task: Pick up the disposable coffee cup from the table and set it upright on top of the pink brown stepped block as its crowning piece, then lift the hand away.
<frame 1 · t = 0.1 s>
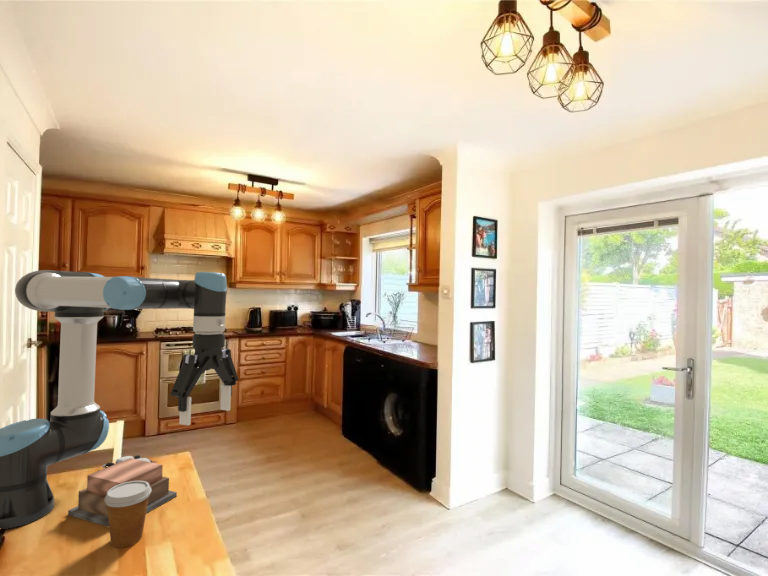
hand: (206, 416, 102), 28 cm above the table, tool pointing down, fingers open, 13 cm apart
disposable coffee cup: (126, 540, 96), on the table
robot toy: (128, 474, 131), on the table
pink brown stepped block: (124, 505, 111), on the table
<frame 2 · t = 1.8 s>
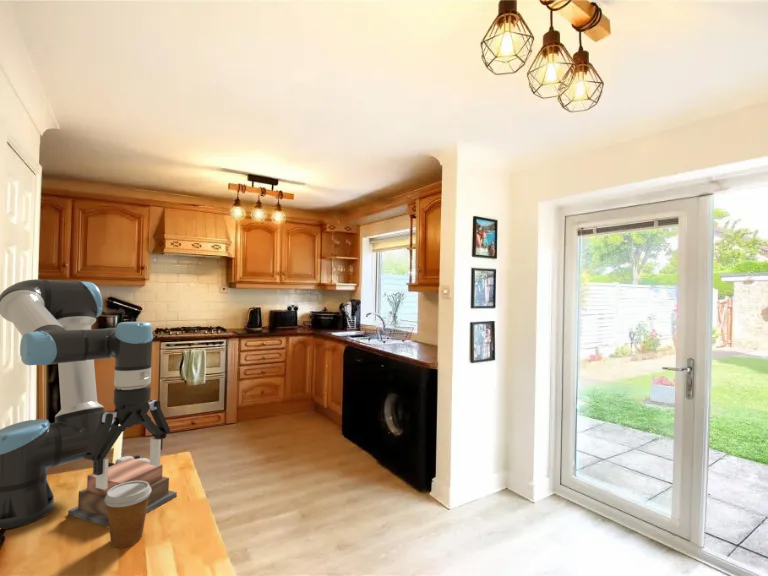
hand: (129, 475, 96), 15 cm above the table, tool pointing down, fingers open, 13 cm apart
nothing on the table moved.
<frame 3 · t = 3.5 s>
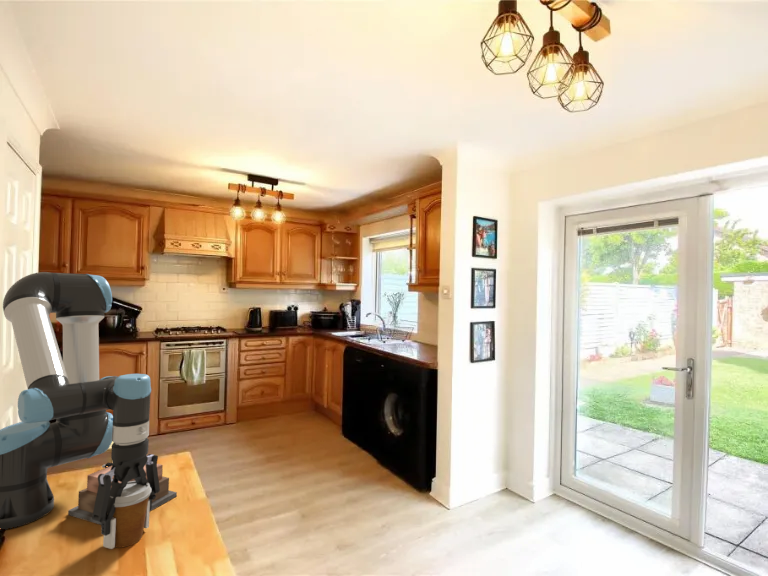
hand: (127, 536, 96), 1 cm above the table, tool pointing down, fingers closed on disposable coffee cup, 8 cm apart
disposable coffee cup: (126, 540, 96), on the table, touching gripper
everything else where it was.
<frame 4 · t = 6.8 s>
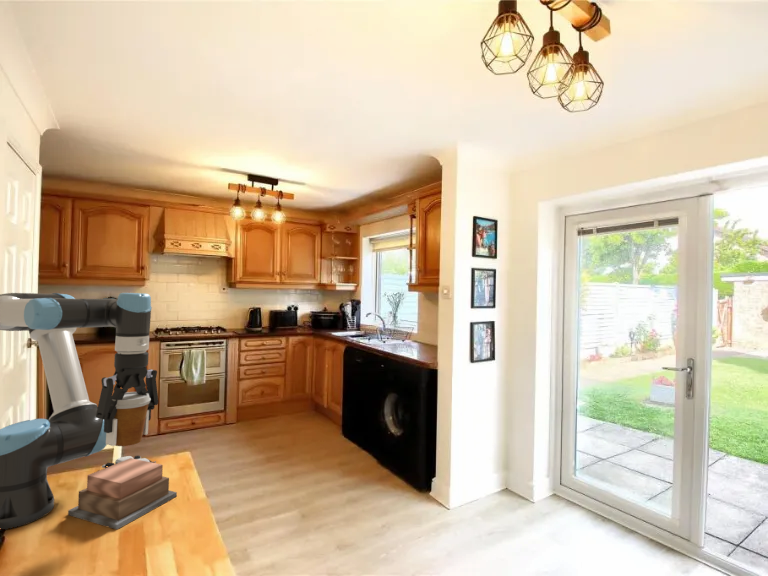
hand: (127, 438, 105), 21 cm above the table, tool pointing down, fingers closed on disposable coffee cup, 8 cm apart
disposable coffee cup: (127, 442, 105), point 20 cm above the table, touching gripper
everything else where it was.
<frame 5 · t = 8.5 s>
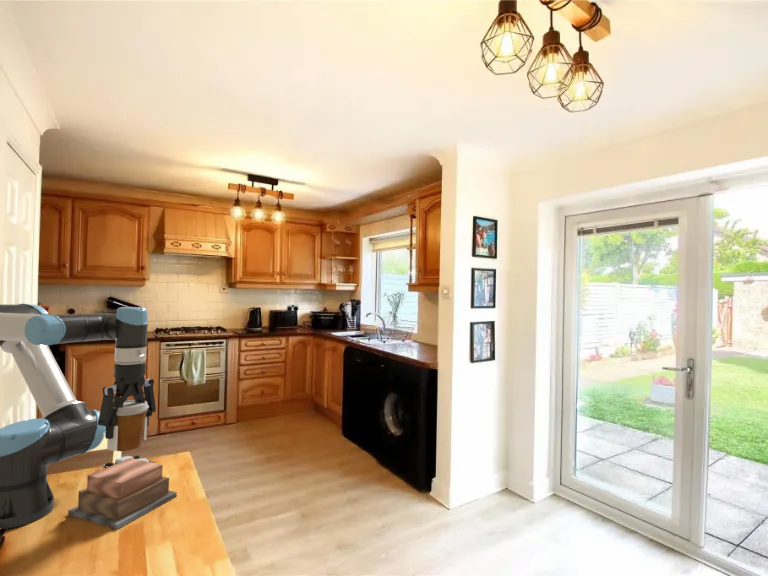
hand: (127, 444, 111), 17 cm above the table, tool pointing down, fingers closed on disposable coffee cup, 8 cm apart
disposable coffee cup: (127, 447, 111), point 16 cm above the table, touching gripper
everything else where it was.
when the fingers open (12 cm above the table, at t = 10.0 s): disposable coffee cup drops 1 cm, resting on pink brown stepped block.
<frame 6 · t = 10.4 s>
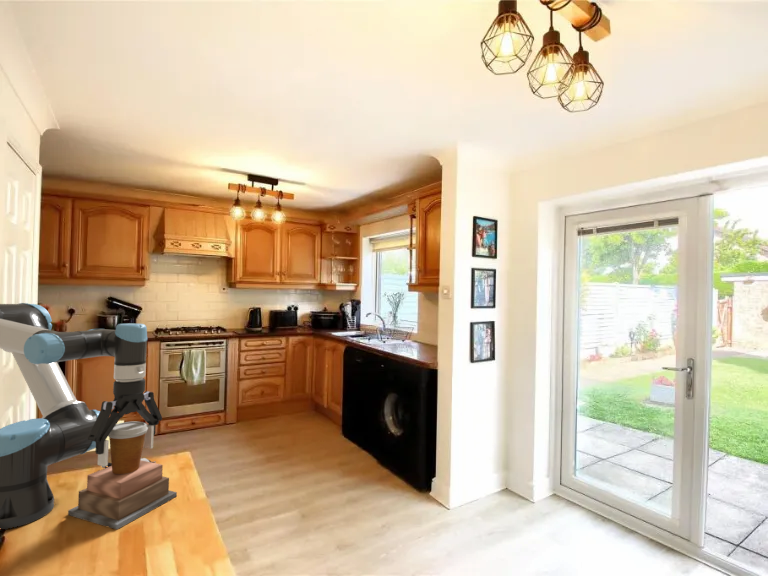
hand: (126, 456, 111), 13 cm above the table, tool pointing down, fingers open, 13 cm apart
disposable coffee cup: (125, 470, 111), point 10 cm above the table, touching pink brown stepped block
everything else where it was.
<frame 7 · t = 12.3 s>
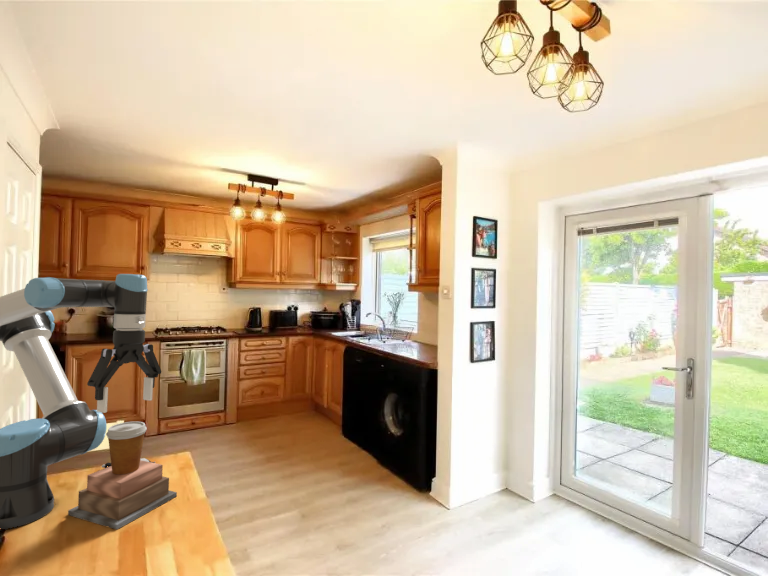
hand: (126, 405, 112), 27 cm above the table, tool pointing down, fingers open, 13 cm apart
nothing on the table moved.
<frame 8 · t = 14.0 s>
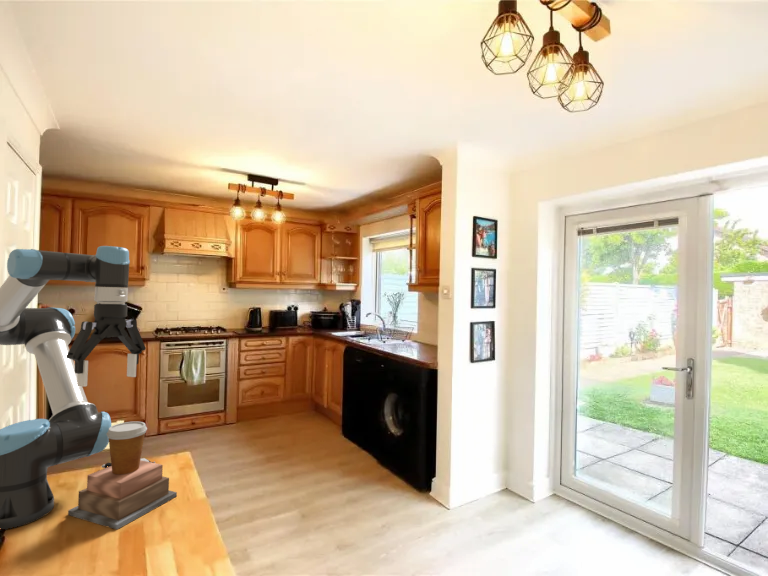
hand: (108, 381, 109), 35 cm above the table, tool pointing down, fingers open, 13 cm apart
nothing on the table moved.
at the end: disposable coffee cup inside the target area on the pink brown stepped block (0.1 cm from its centre), point 9.5 cm above the pink brown stepped block's base; disposable coffee cup tilted 0°; the gripper is holding nothing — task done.
